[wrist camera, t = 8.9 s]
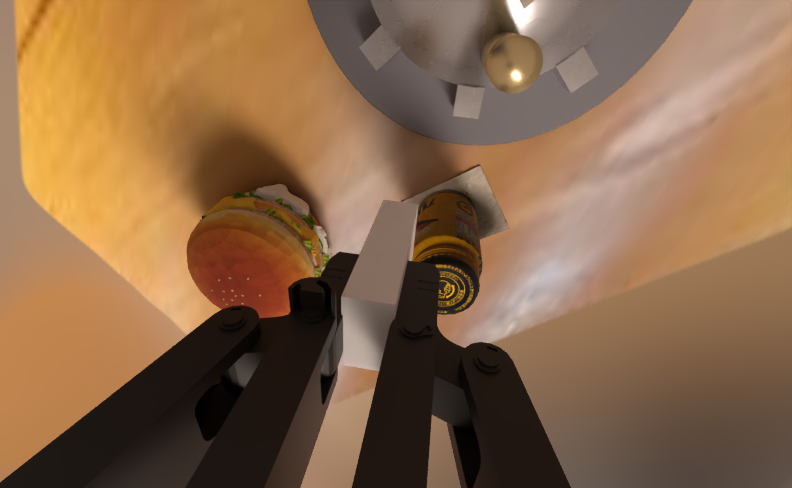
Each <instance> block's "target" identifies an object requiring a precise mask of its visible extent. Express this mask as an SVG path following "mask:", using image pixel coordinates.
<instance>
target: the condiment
mask: <svg viewBox="0 0 792 488" xmlns="http://www.w3.org/2000/svg"><path fill="white" fill-rule="evenodd" d="M464 192H466V194H465V193H464ZM468 192H469V193H471V194H468ZM403 202H404V203H412V204H418V213H417V222H416V231H415V240H414V249H413V257H412V261H415V262H422V263H429V264H435V265H436V267H437V269H438V270H439V272H440V283H439V297H438V311H437V314H442V315H446V314H456V313H459V312H461V311H464V310H466V309H467V308H469V307H470V306H471V305H472V304H473V303H474V301H475V299H476V297H477V295H478V292H479V287H480V285H479V277H480V275H481V272H482V257H481V249H480V241H479V240H480V239H482V238H485V237H487V236H490V235H492V234H496V233H499V232H501V231H504V230H506V229H509V227H508V225H507V223H506V221H505V218H504V216H503V214H502V212H501V210H500V207H499V205H498V203H497V201H496V199H495V197H494V195H493V193H492V190H491V188H490V186H489V184H488V182H487V180H486V177H485V175H484V173H483V171H482V169H481V167H480V166H478V167H476V168H474V169H472V170H470V171H467V172H465V173H463V174H461V175H459V176H457V177H455V178H452V179H450V180H448V181H446V182H444V183H441V184H439V185H437V186H434V187H432V188H430V189H428V190H426V191H424V192H422V193H419V194H417V195H415V196H413V197H411V198H409V199H407V200H405V201H403Z"/></svg>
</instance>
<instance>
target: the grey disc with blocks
mask: <svg viewBox="0 0 792 488" xmlns="http://www.w3.org/2000/svg"><path fill="white" fill-rule="evenodd" d="M370 1H371V4H372V6H373V8H374V10H375V12H376V14H377V16H378V18H379V21H380V23H381V24H382V25H381V26H380V27H379V28H378V29H377V30H376V31H375V32H374V33H373V34H372V35H371V36H370V37H369V38H368V39H367V40H366V41H365V42H364V43H363V44H362V45H361V46H360V47H359V48H360V50H361V51H362V52H363V54H364V55H365V56H366V58H367V59H368V60H369V61H370V63H371V64H372V65H373V67H374V68H375V69H376V71H377V70H379V69H380V68H382V67H383V66H384V65H385V64H386V63H387V62H388V61H389V60H390V59H391V58H392V57H393V56H394V55H395V54H396V53H397V52H398V51H400V50H401V51H402V52H403V53H404V54H405V55H406V56H407V57H408V58H409V59H410V60H411V61H412V62H413V63H415V64H416V65H418V66H419V67H420V68H422V69H423V70H425V71H426V72H428V73H430V74H432V75H434V76H435V77H437V78H439V79H442V80H445V81H447V82H450V83H453V84H457V88H456V94H455V100H454V106H453V116H458V117H466V118H474V119H478V118H479V113H480V109H481V104H482V99H483V94H484V89H485V88H492V87H496V88H497V89H498V90H500V91H501V92H504V93H508V94H515V93H519V92H522V91H524V90H526V89H528V88H529V87H530V86H532V85H533V83H534V82H535V81H536V80H537V78H538V77H539V75H541V74H543V73H545V72H547V71H549V70H551V69H553V70H554V72H555V74H556V76H557V78H558V79H559V81H560V83H561V85H562V86H563V88H564V89H565V90H567V91H568V92H570V93H572V92H574V91H575V90H577V89H578V88H579V87H581V86H582V85H584V84H585V83H587V82H588V81H590V80H591V79H592V78H594V77H595V76H597V75H598V72H597V70H596V69H595V67H594V65H593V63H592V61H591V59H590V57H589V55H588V53H587V51H586V50H585V48H584V45H586V44H587V43H588V42H589V41H590V40H591V39H592V38H593V37H594V36H595V35H596V34H597V33H598V32H599V31H600V30H601V29H602V27H603V26H604V25H605V24H606V22H607V21H608V20H609V19H610V18H611V16H612V15H613V14H614V13H615V11H616V10H617V9H618V7H619V6H620V4H621V3H622V1H623V0H370Z"/></svg>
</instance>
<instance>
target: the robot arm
mask: <svg viewBox="0 0 792 488" xmlns="http://www.w3.org/2000/svg"><path fill="white" fill-rule="evenodd" d="M417 213H418V204H412V203H404V202H396V201H388V200H383V203H382V205H381V207H380V209H379V212H378V214H377V216H376V219H375V221H374V223H373V225H372V228H371V230H370V232H369V234H368V237H367V239H366V241H365V244H364V246H363V248H362V250H361V253H360V255H358V254H351V253H344V252H339V253H337V254H336V255H334V256H333V257H331V258H330V259H329V261H328V263H327V264H326V266H325V269H324V270H323V271H322V273H321V276H320V277H308V278H303V279H300V280H298V281H296V282H294V283H292V284H291V285H290V286H289V287H288V294H289V303H290V312H289V314H287V315H284V316H278V317H268V318H259V315H258V313H257V311H256V310H255V309H253V308H251V307H248V306H243V305H240V306H231V307H228V308H225V309H222V310H220V311H219V312H217V313H215V314H214V315H212V316H211V317H210V318H209V319H207V320H206V321H205V322H204V323H202V324H201V325H200V326H198V327H197V328H196V329H195V330H193V331H192V332H191V333H190V334H188V335H187V336H186V337H185V338H183V339H182V340H181V341H179V342H178V343H177V344H176V345H174V346H173V347H172V348H171V349H169V350H168V351H167V352H166V353H164V354H163V355H162V356H160V357H159V358H158V359H157V360H155V361H154V362H153V363H152V364H150V365H149V366H148V367H146V368H145V369H144V370H143V371H141V372H140V373H139V374H138V375H136V376H135V377H134V378H132V379H131V380H130V381H129V382H127V383H126V384H125V385H124V386H122V387H121V388H120V389H118V390H117V391H116V392H115V393H113V394H112V395H111V396H110V397H108V398H107V399H106V400H104V401H103V402H102V403H101V404H99V405H98V406H97V407H95V408H94V409H93V410H92V411H90V412H89V413H88V414H87V415H85V416H84V417H83V418H82V419H80V420H79V421H78V422H76V423H75V424H74V425H73V426H71V427H70V428H69V429H68V430H66V431H65V432H64V433H62V434H61V435H60V436H59V437H57V438H56V439H55V440H53V441H52V442H51V443H50V444H48V445H47V446H46V447H45V448H43V449H42V450H41V451H40V452H38V453H37V454H36V455H34V456H33V457H32V458H31V459H29V460H28V461H27V462H26V463H24V464H23V465H22V466H20V467H19V468H18V469H17V470H15V471H14V472H13V473H12V474H11V475H9V476H8V477H6V478H5V479H4V480H3V481H2V482H0V488H300V486H301V484H302V481H303V478H304V475H305V472H306V469H307V466H308V463H309V460H310V457H311V454H312V452H313V449H314V446H315V442H316V440H317V437H318V434H319V431H320V428H321V425H322V423H323V420H324V417H325V414H326V411H327V408H328V405H329V402H330V399H331V396H332V393H333V390H334V387H335V385H336V382H337V376H338V364H339V361H340V358H341V356H342V365H346V366H352V367H358V368H364V369H370V370H376V371H379V374H378V378H377V383H376V387H375V391H374V396H373V400H372V404H371V409H370V413H369V417H368V421H367V425H366V430H365V434H364V439H363V442H362V447H361V451H360V455H359V459H358V464H357V468H356V473H355V476H354V481H353V486H352V488H427V473H428V459H429V445H430V431H431V416H432V415H434V416H436V417H438V418H440V419H442V420H444V421H445V422H447V426H448V431H449V435H450V439H451V444H452V448H453V453H454V458H455V462H456V467H457V471H458V476H459V480H460V485H461V488H571V487H570V485H569V483H568V480H567V478H566V476H565V474H564V472H563V469H562V467H561V465H560V463H559V461H558V459H557V456H556V454H555V452H554V450H553V448H552V445H551V443H550V441H549V439H548V437H547V434H546V433H545V430H544V428H543V426H542V424H541V421H540V420H539V417H538V415H537V413H536V411H535V409H534V406H533V404H532V402H531V400H530V397H529V395H528V393H527V391H526V389H525V387H524V384H523V382H522V380H521V378H520V376H519V374H518V371H517V369H516V367H515V365H514V363H513V361H512V359H511V358H510V357H509V355H508V354H507V353H506V352H505V351H503V350H502V349H501V348H499V347H497V346H495V345H493V344H490V343H483V342H478V343H473V344H470V345H469V346H467V347H466V348H463V347H461V346H459V345H456V344H454V343H452V342H451V341H449V340H448V339H446V338H445V337H444V336H443V335H442V334H441V332H440V331H439V329H438V327H437V311H438V297H439V283H440V272H439V270H438V269H437V267H436V265H435V264H429V263H422V262H415V261H412V257H413V249H414V240H415V231H416V222H417Z"/></svg>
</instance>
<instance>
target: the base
mask: <svg viewBox="0 0 792 488" xmlns="http://www.w3.org/2000/svg"><path fill="white" fill-rule="evenodd" d="M692 1H693V0H623V1H622V3H621V4H620V6H619V7H618V9H617V10H616V11H615V13H614V14H613V15H612V16H611V18H610V19H609V20H608V21H607V22H606V24H605V25H604V26H603V27H602V29H601V30H600V31H599V32H598V33H597V34H596V35H595V36H594V37H593V38H592V39H591V40H590V41H589V42H588V43H587V44H586V45H584V48H585V50H586V51H587V53H588V55H589V57H590V59H591V61H592V63H593V65H594V67H595V69H596V70H597V72H598V75H597V76H595V77H594V78H592V79H591V80H590V81H588V82H587V83H585V84H584V85H582V86H581V87H579V88H578V89H577V90H575V91H574V92H572V93H570V92H568V91H567V90H565V89H564V88H563V86H562V85H561V83H560V81H559V79H558V78H557V76H556V74H555V72H554V70H553V69H551V70H549V71H547V72H545V73H543V74H541V75H539V77H538V78H537V80H536V81H535V82H534V83H533V85H532V86H530V87H529V88H528V89H526V90H524V91H522V92H519V93H515V94H508V93H504V92H501V91H500V90H498V89H497V88H496V87H492V88H485V89H484V94H483V99H482V104H481V109H480V113H479V118H478V119H474V118H466V117H458V116H453V106H454V100H455V94H456V88H457V84H453V83H450V82H447V81H445V80H442V79H439V78H437V77H435V76H434V75H432V74H430V73H428V72H426V71H425V70H423V69H422V68H420V67H419V66H418V65H416V64H415V63H413V62H412V61H411V60H410V59H409V58H408V57H407V56H406V55H405V54H404V53H403V52H402V51H401V50H400V51H398V52H397V53H396V54H395V55H394V56H393V57H392V58H391V59H390V60H389V61H388V62H387V63H386V64H385V65H384V66H383V67H382V68H380V69H379V70H377V71H376V69H375V68H374V67H373V65H372V64H371V63H370V61H369V60H368V59H367V58H366V56H365V55H364V54H363V52H362V51H361V50H360V48H359V47H360V46H361V45H362V44H363V43H364V42H365V41H366V40H367V39H368V38H369V37H370V36H371V35H372V34H373V33H374V32H375V31H376V30H377V29H378V28H379V27H380V26H381V25H382V24H381V23H380V21H379V18H378V16H377V14H376V12H375V10H374V8H373V6H372V4H371V1H370V0H308V3H309V5H310V8H311V11H312V14H313V17H314V20H315V23H316V25H317V27H318V29H319V31H320V33H321V36H322V38H323V40H324V42H325V44H326V46H327V48H328V50H329V51H330V53H331V55H332V56H333V58H334V60H335V61H336V63H337V65H338V66H339V68H340V69H341V70H342V72H343V73H344V74H345V76H346V77H347V78H348V79H349V81H350V82H351V83H352V85H353V86H354V87H355V88H356V89H357V90H358V91H359V92H360V93H361V94H362V95H363V96H364V97H365V98H366V99H367V100H368V101H369V102H370V103H371V104H372V105H373V106H374V107H376V108H377V109H378V110H380V111H381V112H382V113H383V114H385V115H386V116H387V117H389V118H390V119H392V120H394V121H395V122H397V123H399V124H400V125H402V126H404V127H405V128H407V129H410V130H412V131H414V132H417V133H419V134H421V135H423V136H426V137H430V138H433V139H437V140H440V141H444V142H449V143H456V144H463V145H495V144H504V143H511V142H515V141H519V140H524V139H528V138H532V137H535V136H537V135H540V134H543V133H546V132H549V131H551V130H554V129H556V128H558V127H560V126H562V125H564V124H566V123H568V122H570V121H572V120H574V119H576V118H578V117H580V116H581V115H583V114H584V113H586V112H588V111H589V110H591V109H592V108H594V107H595V106H597V105H599V104H600V103H601V102H603V101H604V100H605V99H606V98H608V97H609V96H610V95H612V94H613V93H614V92H615V91H617V90H618V89H619V88H620V87H622V86H623V85H624V84H625V83H626V82H627V81H628V80H629V79H630V78H631V77H632V76H633V75H634V74H635V73H636V72H637V71H639V70H640V69H641V68H642V67H643V66H644V65H645V64H646V62H647V61H648V60H649V59H650V58H651V57H652V55H653V54H654V53H655V52H656V51H657V50H658V49H659V47H660V46H661V45H662V44H663V43H664V42H665V40H666V39H667V38H668V36H669V35H670V33H671V32H672V31H673V29H674V28H675V26H676V25H677V24H678V22H679V21H680V19H681V18H682V17H683V15H684V14H685V12H686V11H687V9H688V7H689V6H690V4H691V2H692Z"/></svg>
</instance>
